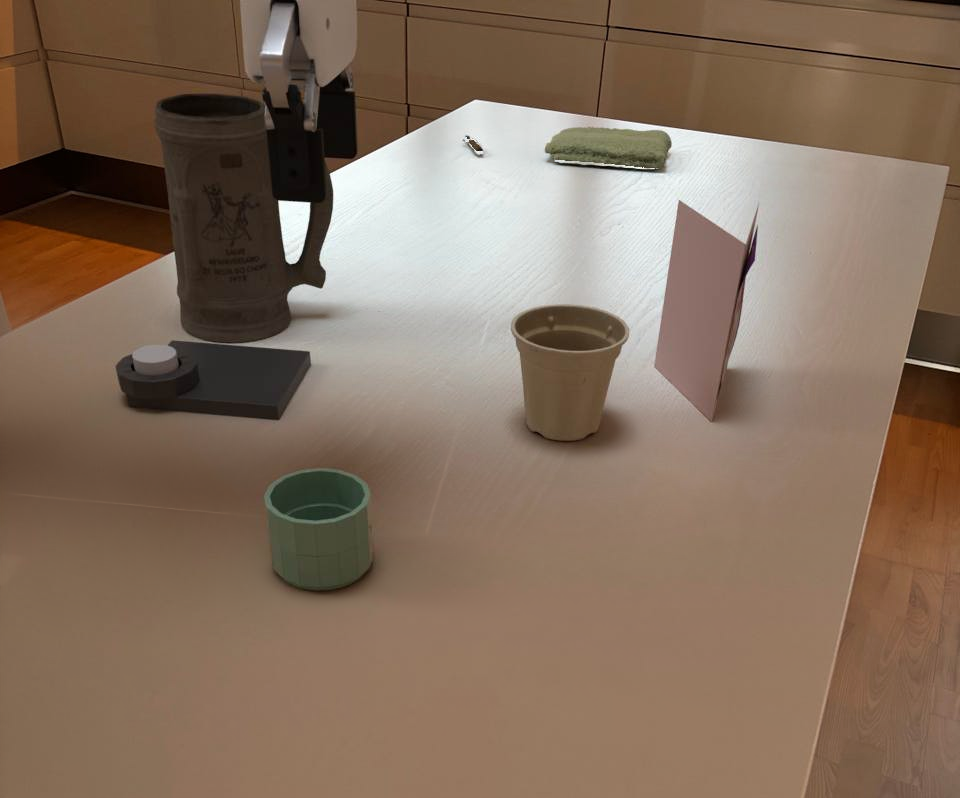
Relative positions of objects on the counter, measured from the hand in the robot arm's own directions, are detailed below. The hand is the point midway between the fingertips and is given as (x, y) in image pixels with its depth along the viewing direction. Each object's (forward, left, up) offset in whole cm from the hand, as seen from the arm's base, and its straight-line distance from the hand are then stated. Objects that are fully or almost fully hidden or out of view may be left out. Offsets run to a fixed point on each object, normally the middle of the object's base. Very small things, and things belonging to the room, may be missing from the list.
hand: (317, 177), depth 65 cm
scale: (-13, +13, -22) cm, 29 cm away
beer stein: (-14, +28, -22) cm, 39 cm away
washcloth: (+19, +96, -22) cm, 100 cm away
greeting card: (+28, +20, -22) cm, 41 cm away
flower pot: (+17, +11, -22) cm, 30 cm away
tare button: (-18, +10, -19) cm, 28 cm away
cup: (+2, -12, -22) cm, 25 cm away
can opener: (-1, +96, -22) cm, 99 cm away
